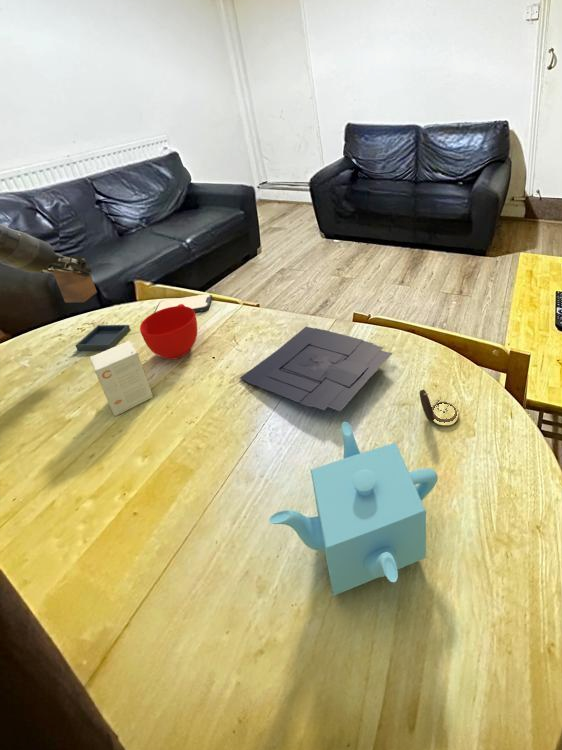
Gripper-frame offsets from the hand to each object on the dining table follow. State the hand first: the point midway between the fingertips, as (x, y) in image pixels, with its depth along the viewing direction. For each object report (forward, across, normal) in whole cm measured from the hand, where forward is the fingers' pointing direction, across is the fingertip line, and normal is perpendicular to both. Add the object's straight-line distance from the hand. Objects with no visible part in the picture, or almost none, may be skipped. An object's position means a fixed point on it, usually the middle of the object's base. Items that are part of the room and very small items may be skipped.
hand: (78, 272), depth 106 cm
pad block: (+3, 0, +6) cm, 6 cm away
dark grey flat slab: (+7, -63, +24) cm, 68 cm away
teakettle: (-21, -77, +52) cm, 95 cm away
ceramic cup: (+14, -23, +17) cm, 32 cm away
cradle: (+16, 0, +15) cm, 22 cm away
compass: (-3, -91, +33) cm, 97 cm away
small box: (0, -21, +31) cm, 37 cm away
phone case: (+27, -15, +4) cm, 31 cm away
